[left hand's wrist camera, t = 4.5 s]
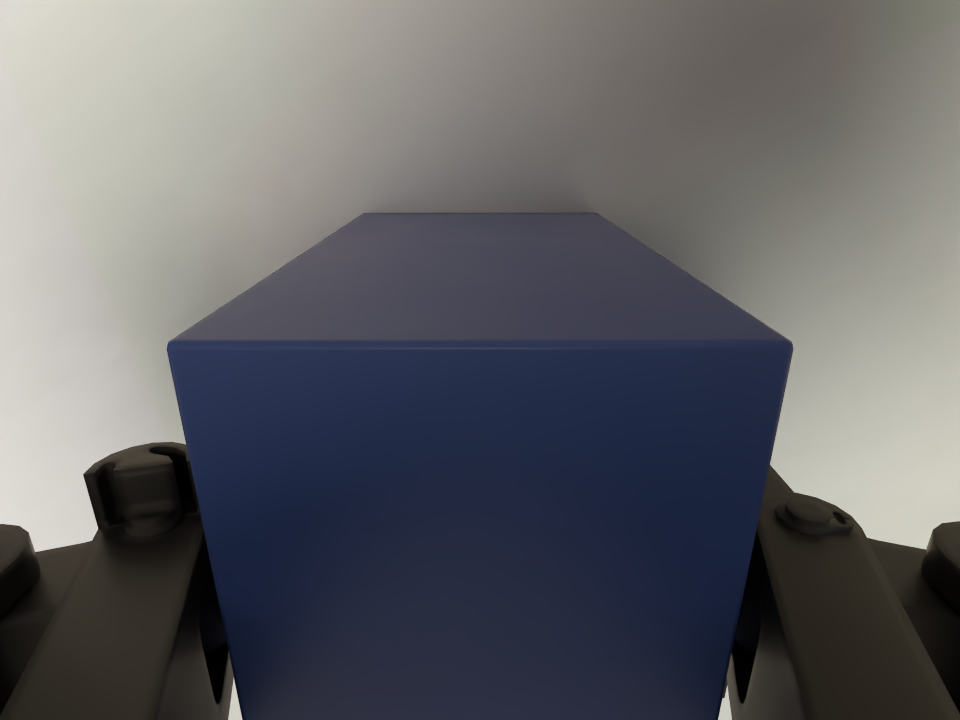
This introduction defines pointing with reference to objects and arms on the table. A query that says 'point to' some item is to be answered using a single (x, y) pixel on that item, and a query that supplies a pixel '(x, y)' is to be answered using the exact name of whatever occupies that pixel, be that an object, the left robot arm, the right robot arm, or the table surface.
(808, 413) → the table surface
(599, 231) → the bar
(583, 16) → the table surface
